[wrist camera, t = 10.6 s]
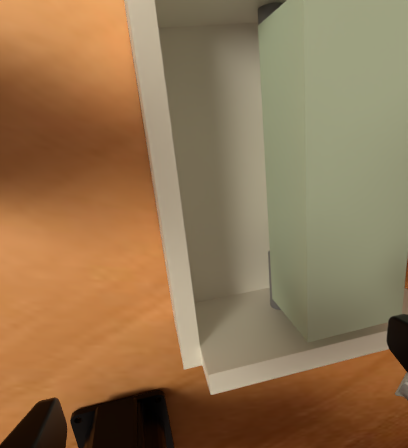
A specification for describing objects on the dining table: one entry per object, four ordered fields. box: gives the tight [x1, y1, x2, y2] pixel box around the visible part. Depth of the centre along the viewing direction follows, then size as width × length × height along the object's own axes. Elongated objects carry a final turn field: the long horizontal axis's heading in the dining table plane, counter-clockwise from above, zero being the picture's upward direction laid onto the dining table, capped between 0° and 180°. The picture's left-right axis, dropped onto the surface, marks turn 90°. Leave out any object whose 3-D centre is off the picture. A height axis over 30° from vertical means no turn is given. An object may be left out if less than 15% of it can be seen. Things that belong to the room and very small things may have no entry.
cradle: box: [124, 0, 408, 395], centre depth 16 cm, size 18×14×7 cm
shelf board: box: [258, 0, 408, 342], centre depth 14 cm, size 14×5×4 cm, turn 7°
